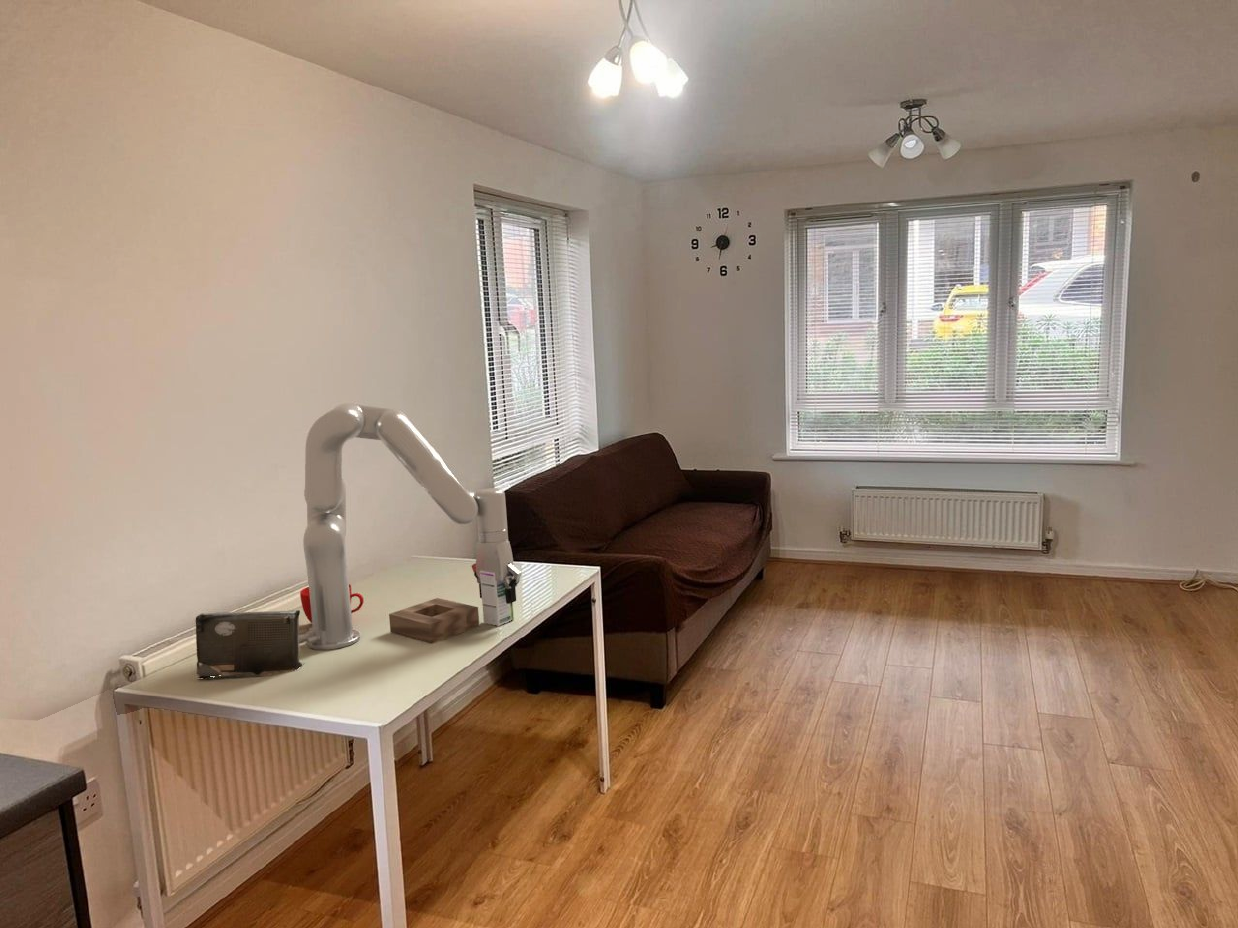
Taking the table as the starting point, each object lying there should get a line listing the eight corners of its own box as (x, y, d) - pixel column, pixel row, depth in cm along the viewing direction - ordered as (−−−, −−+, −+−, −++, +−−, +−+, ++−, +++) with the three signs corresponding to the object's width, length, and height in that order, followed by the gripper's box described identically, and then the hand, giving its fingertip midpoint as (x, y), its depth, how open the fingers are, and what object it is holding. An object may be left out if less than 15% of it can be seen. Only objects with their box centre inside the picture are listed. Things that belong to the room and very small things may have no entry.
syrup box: (498, 626, 226) (495, 572, 224) (482, 622, 230) (479, 569, 227) (514, 620, 230) (510, 567, 228) (498, 616, 234) (494, 564, 232)
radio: (310, 662, 206) (304, 601, 204) (299, 676, 198) (292, 612, 196) (209, 667, 205) (202, 606, 203) (194, 682, 197) (186, 618, 194)
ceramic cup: (353, 634, 225) (349, 596, 223) (293, 632, 228) (290, 595, 227) (376, 618, 237) (373, 582, 236) (320, 616, 241) (316, 581, 239)
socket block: (431, 643, 215) (429, 624, 214) (390, 632, 225) (389, 613, 224) (479, 625, 227) (478, 607, 227) (438, 615, 237) (437, 597, 236)
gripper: (459, 535, 229) (464, 598, 232) (506, 542, 218) (511, 608, 221) (481, 529, 235) (485, 591, 237) (527, 536, 224) (531, 600, 227)
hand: (498, 599), depth 229 cm, fingers open, 9 cm apart
